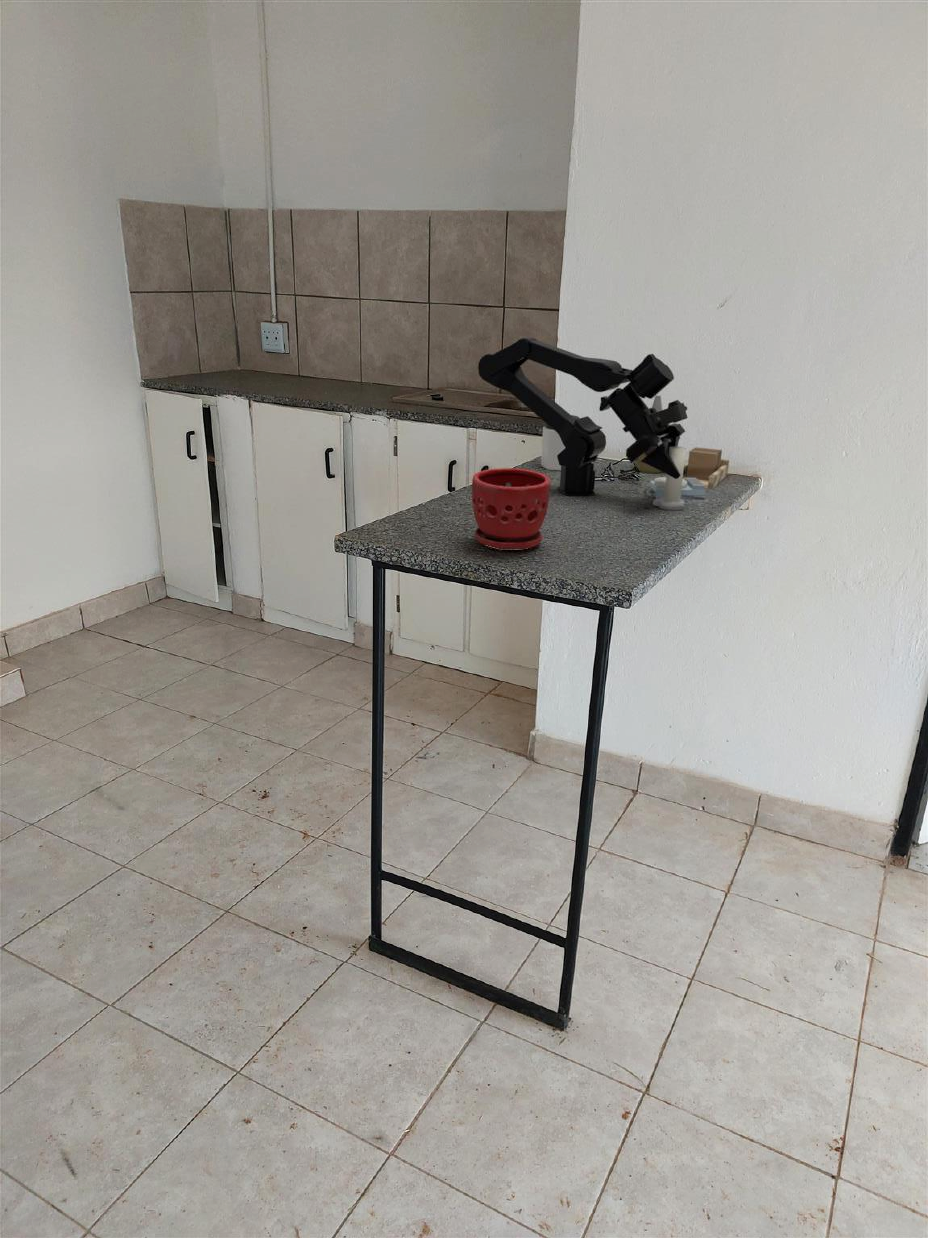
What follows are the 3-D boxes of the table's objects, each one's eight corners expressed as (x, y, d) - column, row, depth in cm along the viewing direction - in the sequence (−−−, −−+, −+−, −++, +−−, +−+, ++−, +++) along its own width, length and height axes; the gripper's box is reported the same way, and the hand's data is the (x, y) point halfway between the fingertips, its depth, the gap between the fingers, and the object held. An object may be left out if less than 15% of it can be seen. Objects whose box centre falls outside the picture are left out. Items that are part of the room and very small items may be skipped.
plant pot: (455, 541, 155) (456, 472, 151) (513, 530, 163) (516, 464, 158) (503, 560, 146) (506, 488, 141) (562, 547, 153) (567, 478, 149)
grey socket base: (656, 498, 188) (658, 484, 187) (649, 489, 195) (650, 476, 194) (704, 499, 188) (706, 485, 187) (694, 490, 195) (696, 477, 194)
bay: (711, 493, 193) (714, 472, 192) (670, 488, 197) (672, 467, 195) (726, 479, 207) (729, 460, 205) (687, 474, 211) (690, 455, 209)
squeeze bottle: (627, 470, 213) (634, 393, 207) (659, 470, 215) (667, 393, 208) (639, 478, 206) (647, 398, 199) (673, 477, 207) (681, 398, 201)
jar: (560, 472, 209) (563, 420, 205) (534, 466, 215) (536, 416, 210) (584, 467, 215) (588, 417, 211) (558, 462, 221) (561, 412, 216)
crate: (713, 480, 200) (716, 454, 198) (686, 477, 203) (689, 451, 201) (718, 476, 205) (722, 449, 203) (692, 472, 208) (695, 447, 206)
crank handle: (687, 506, 182) (693, 447, 178) (679, 511, 178) (685, 451, 174) (658, 502, 185) (664, 443, 181) (649, 507, 181) (655, 447, 177)
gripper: (647, 391, 167) (698, 458, 166) (680, 382, 182) (727, 443, 181) (604, 429, 174) (653, 493, 173) (640, 418, 189) (685, 477, 187)
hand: (681, 475), depth 178 cm, fingers closed on crank handle, 3 cm apart
